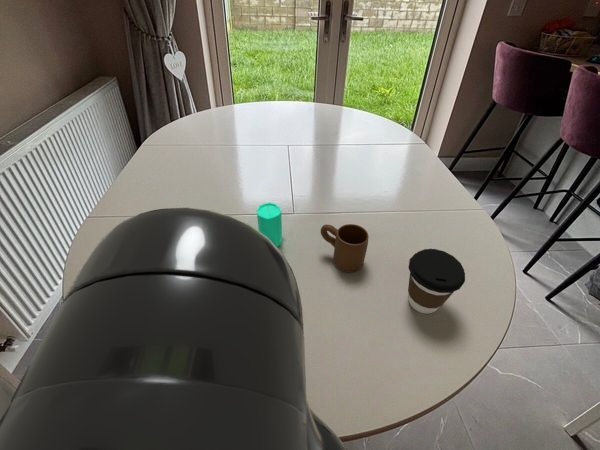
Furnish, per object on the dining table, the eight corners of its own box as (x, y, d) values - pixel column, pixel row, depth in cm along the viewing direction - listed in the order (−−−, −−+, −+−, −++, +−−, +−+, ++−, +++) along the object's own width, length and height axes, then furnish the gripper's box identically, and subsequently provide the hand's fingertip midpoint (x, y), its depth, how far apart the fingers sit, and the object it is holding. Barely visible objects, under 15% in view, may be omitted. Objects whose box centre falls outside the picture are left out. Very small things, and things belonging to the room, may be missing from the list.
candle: (260, 233, 90) (257, 197, 82) (282, 233, 90) (282, 198, 82) (258, 248, 86) (254, 212, 78) (281, 249, 86) (280, 213, 78)
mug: (312, 258, 84) (313, 230, 77) (326, 240, 88) (328, 213, 82) (355, 278, 79) (361, 250, 73) (368, 258, 84) (374, 230, 78)
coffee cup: (452, 327, 69) (473, 291, 61) (399, 319, 71) (412, 283, 63) (444, 286, 78) (461, 250, 70) (396, 279, 79) (408, 243, 71)
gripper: (285, 310, 46) (238, 236, 58) (186, 357, 41) (156, 265, 52) (286, 338, 51) (243, 265, 63) (197, 383, 46) (167, 294, 57)
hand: (203, 265), depth 57 cm, fingers closed
